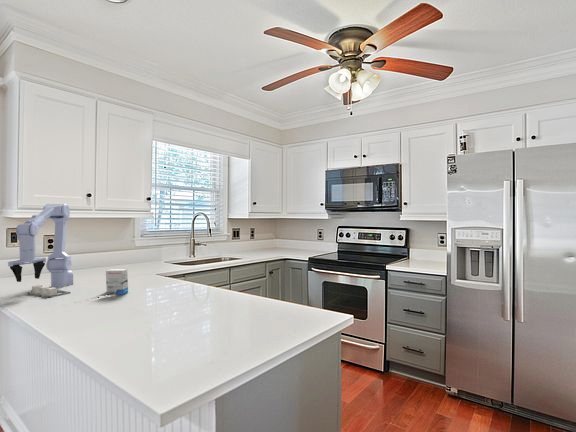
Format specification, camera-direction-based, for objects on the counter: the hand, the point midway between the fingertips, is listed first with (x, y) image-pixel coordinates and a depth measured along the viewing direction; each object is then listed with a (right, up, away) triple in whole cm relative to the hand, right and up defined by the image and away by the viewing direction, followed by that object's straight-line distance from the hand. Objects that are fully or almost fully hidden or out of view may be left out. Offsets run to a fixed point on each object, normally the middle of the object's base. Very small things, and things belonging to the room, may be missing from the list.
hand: (28, 280), depth 156 cm
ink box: (+34, -9, +12) cm, 37 cm away
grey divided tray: (+4, -9, +8) cm, 13 cm away
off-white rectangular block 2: (+8, -8, +3) cm, 12 cm away
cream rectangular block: (+3, -8, +6) cm, 10 cm away
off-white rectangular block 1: (-2, -8, +9) cm, 12 cm away
